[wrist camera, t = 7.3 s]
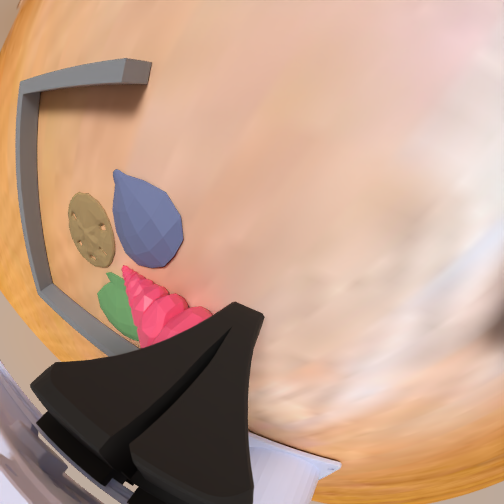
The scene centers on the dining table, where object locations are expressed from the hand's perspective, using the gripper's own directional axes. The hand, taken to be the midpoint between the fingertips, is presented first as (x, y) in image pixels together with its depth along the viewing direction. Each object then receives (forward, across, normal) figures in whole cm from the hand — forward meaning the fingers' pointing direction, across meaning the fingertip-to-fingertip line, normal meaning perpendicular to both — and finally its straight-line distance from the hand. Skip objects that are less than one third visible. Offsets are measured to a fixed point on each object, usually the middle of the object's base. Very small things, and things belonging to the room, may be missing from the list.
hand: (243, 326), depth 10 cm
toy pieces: (+2, +7, +2) cm, 7 cm away
